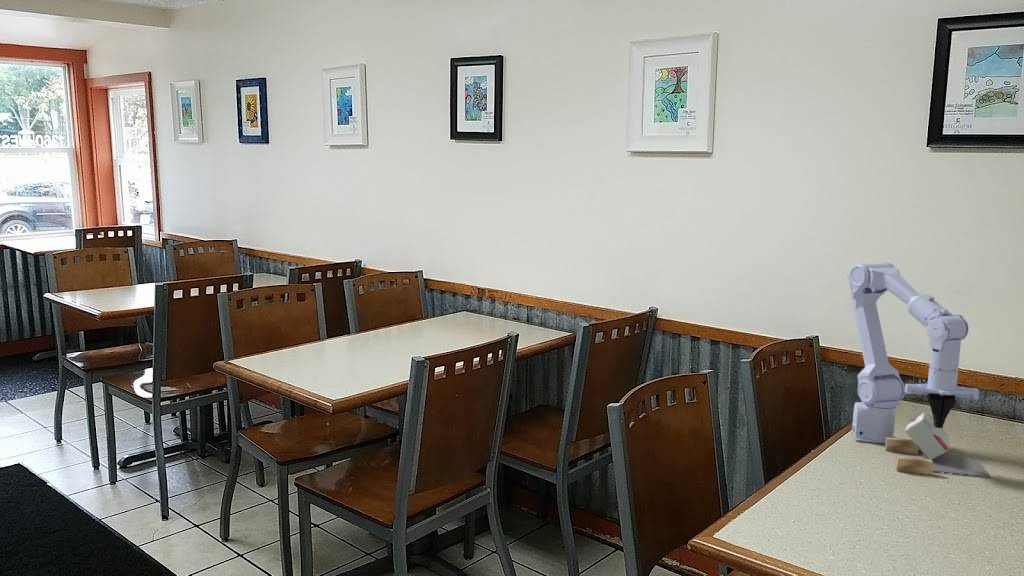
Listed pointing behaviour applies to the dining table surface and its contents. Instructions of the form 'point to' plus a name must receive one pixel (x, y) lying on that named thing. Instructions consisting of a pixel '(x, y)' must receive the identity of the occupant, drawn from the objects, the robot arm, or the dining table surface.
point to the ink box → (927, 435)
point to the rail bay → (905, 462)
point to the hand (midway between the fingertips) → (938, 426)
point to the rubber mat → (958, 466)
